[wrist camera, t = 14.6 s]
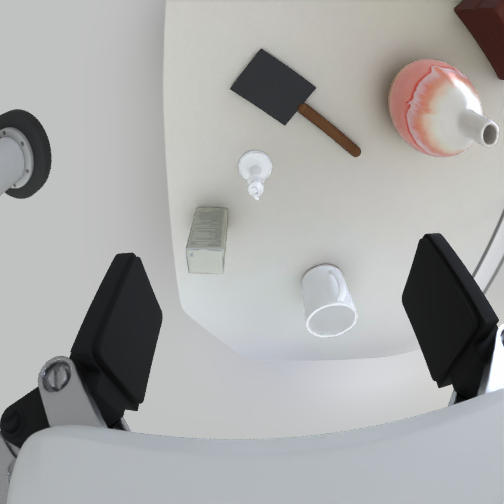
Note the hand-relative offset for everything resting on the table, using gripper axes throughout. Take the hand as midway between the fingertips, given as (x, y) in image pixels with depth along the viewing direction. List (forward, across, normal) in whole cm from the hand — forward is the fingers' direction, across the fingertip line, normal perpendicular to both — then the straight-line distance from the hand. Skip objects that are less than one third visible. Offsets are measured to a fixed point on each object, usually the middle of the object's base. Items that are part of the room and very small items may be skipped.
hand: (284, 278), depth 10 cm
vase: (+34, -23, -1) cm, 42 cm away
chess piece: (+34, +1, +9) cm, 36 cm away
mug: (+34, -10, +32) cm, 48 cm away
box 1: (+34, +9, +18) cm, 40 cm away
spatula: (+34, -6, +1) cm, 35 cm away
